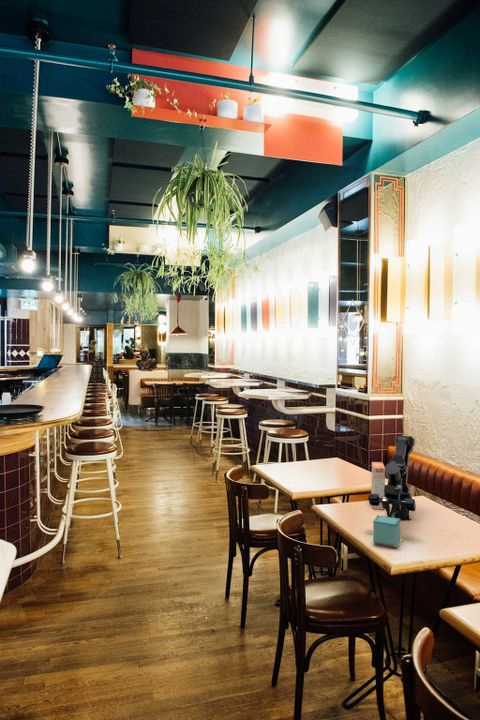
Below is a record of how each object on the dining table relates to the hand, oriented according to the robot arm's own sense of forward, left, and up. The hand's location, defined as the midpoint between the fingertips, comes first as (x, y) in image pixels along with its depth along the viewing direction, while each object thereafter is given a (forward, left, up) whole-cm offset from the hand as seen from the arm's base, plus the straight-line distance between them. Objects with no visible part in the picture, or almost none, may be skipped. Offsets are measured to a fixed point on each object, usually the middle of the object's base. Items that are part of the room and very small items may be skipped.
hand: (388, 520), depth 200 cm
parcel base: (0, 0, -8) cm, 8 cm away
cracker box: (-8, -46, -8) cm, 48 cm away
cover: (+2, +4, -8) cm, 9 cm away
